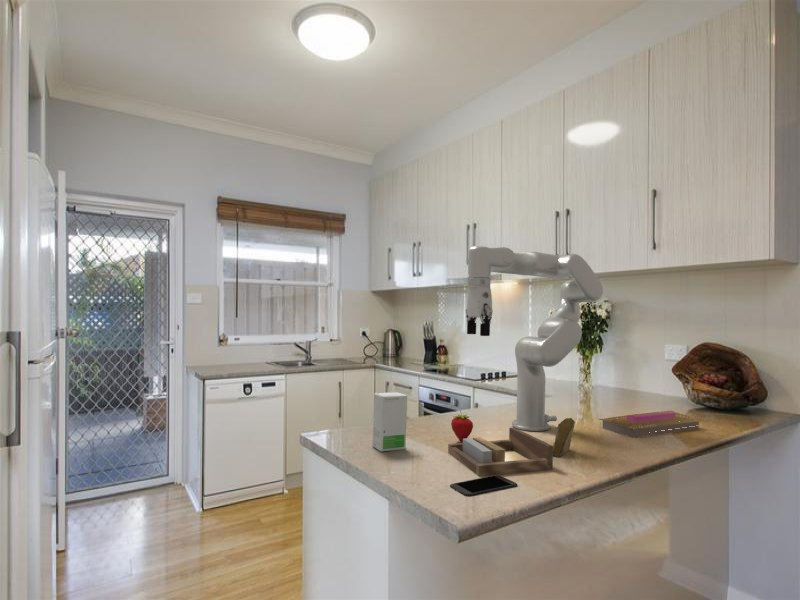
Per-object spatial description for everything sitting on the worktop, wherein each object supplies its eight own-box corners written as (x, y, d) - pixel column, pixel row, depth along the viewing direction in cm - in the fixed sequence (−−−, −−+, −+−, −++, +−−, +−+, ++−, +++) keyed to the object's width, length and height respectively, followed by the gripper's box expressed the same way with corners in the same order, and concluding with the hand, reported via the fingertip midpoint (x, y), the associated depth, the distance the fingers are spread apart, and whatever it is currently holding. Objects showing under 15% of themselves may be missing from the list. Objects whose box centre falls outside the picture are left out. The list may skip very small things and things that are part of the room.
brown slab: (664, 421, 179) (665, 405, 179) (702, 430, 166) (702, 413, 166) (598, 429, 164) (598, 411, 164) (634, 440, 151) (634, 421, 151)
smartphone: (447, 487, 107) (447, 483, 107) (498, 477, 114) (498, 473, 114) (466, 499, 101) (466, 495, 101) (519, 488, 108) (519, 484, 108)
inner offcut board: (480, 455, 131) (480, 437, 131) (504, 469, 120) (504, 449, 120) (472, 455, 130) (472, 437, 130) (496, 470, 119) (496, 450, 119)
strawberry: (462, 447, 138) (463, 413, 138) (446, 440, 144) (446, 408, 144) (477, 444, 141) (478, 411, 141) (460, 438, 147) (461, 406, 147)
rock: (565, 452, 127) (589, 443, 132) (548, 423, 131) (572, 415, 136) (542, 466, 134) (566, 457, 139) (527, 438, 139) (551, 430, 144)
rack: (513, 447, 138) (513, 427, 138) (552, 469, 120) (552, 445, 120) (448, 452, 132) (448, 431, 132) (478, 476, 114) (479, 451, 114)
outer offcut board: (470, 456, 130) (471, 438, 130) (491, 470, 118) (491, 450, 118) (462, 456, 129) (462, 438, 129) (482, 471, 118) (483, 451, 118)
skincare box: (380, 452, 131) (382, 396, 131) (371, 446, 136) (372, 392, 137) (407, 449, 134) (408, 394, 135) (396, 442, 140) (397, 391, 141)
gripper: (502, 283, 149) (501, 336, 148) (477, 285, 165) (476, 333, 165) (480, 282, 146) (479, 336, 146) (458, 284, 163) (457, 333, 162)
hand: (478, 334), depth 155 cm, fingers open, 9 cm apart
